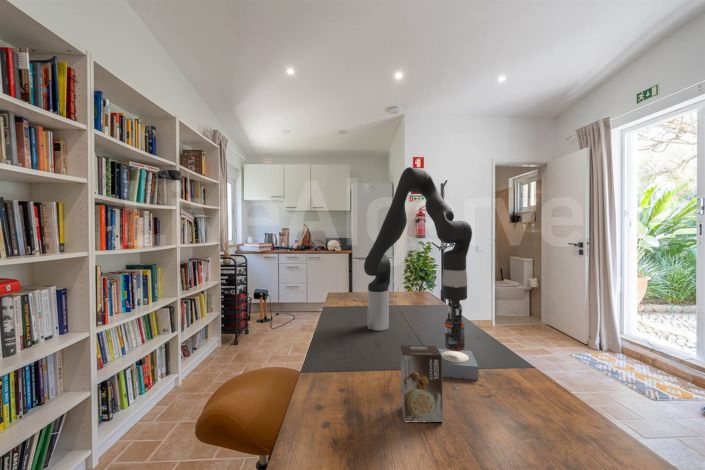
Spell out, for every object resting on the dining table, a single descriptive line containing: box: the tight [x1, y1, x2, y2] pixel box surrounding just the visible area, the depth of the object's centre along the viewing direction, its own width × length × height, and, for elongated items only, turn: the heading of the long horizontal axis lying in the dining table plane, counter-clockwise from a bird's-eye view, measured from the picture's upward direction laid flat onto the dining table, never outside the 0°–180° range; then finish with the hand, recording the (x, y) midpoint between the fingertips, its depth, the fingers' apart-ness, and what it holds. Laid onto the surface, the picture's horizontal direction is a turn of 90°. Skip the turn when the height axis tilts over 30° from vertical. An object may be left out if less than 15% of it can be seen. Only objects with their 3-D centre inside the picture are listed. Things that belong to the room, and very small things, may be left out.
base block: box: [437, 348, 479, 381], centre depth 99 cm, size 12×12×4 cm
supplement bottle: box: [444, 312, 466, 351], centre depth 99 cm, size 6×6×11 cm
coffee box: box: [399, 344, 444, 423], centre depth 75 cm, size 9×6×16 cm
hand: (454, 335), depth 99 cm, fingers closed on supplement bottle, 6 cm apart
